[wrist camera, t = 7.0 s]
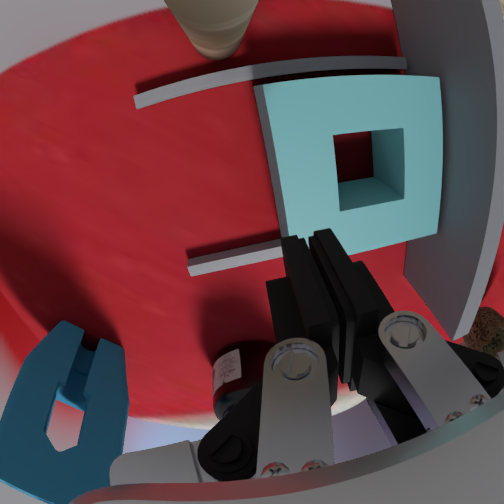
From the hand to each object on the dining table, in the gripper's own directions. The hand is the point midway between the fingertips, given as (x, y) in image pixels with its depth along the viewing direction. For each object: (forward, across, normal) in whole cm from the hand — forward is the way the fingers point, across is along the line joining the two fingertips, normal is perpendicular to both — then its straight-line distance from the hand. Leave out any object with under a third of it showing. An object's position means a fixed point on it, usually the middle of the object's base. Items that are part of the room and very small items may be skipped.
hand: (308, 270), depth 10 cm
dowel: (+13, +1, -10) cm, 17 cm away
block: (+13, +23, +15) cm, 31 cm away
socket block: (+14, -6, 0) cm, 15 cm away
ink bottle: (+14, +5, +22) cm, 26 cm away
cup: (+14, -27, +25) cm, 39 cm away
